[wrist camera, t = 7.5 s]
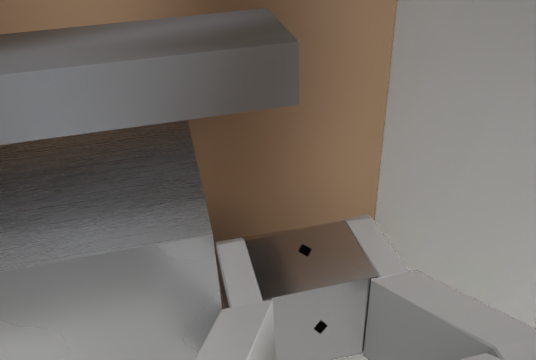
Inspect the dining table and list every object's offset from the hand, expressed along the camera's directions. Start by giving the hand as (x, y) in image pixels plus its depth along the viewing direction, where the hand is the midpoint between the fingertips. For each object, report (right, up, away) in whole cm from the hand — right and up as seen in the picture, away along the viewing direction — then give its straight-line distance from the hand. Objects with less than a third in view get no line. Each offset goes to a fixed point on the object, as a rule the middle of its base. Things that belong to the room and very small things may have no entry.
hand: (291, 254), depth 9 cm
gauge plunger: (-5, -1, +1) cm, 6 cm away
